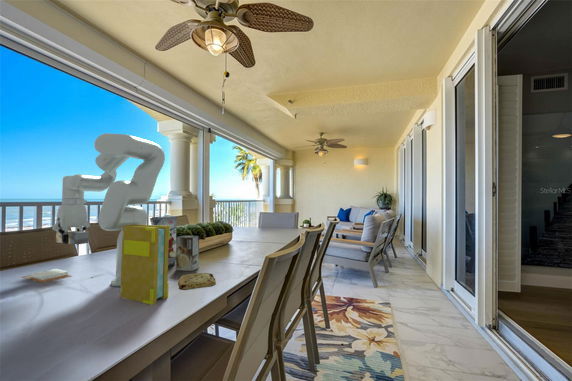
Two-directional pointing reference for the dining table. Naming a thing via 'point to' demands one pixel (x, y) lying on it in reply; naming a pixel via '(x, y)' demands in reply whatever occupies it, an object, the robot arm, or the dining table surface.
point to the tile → (49, 275)
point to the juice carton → (171, 222)
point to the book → (144, 262)
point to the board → (45, 281)
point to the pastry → (196, 281)
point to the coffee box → (187, 253)
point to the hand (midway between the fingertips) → (72, 242)
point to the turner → (74, 237)
